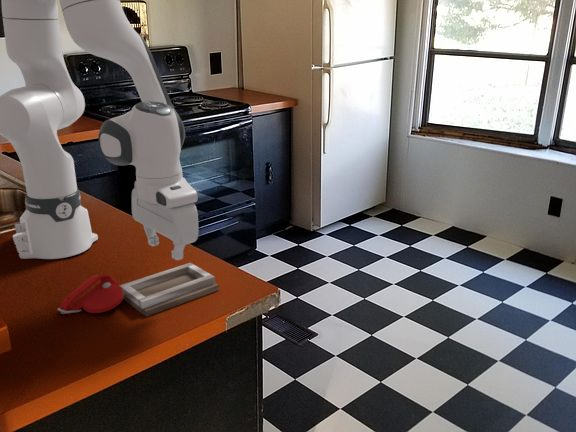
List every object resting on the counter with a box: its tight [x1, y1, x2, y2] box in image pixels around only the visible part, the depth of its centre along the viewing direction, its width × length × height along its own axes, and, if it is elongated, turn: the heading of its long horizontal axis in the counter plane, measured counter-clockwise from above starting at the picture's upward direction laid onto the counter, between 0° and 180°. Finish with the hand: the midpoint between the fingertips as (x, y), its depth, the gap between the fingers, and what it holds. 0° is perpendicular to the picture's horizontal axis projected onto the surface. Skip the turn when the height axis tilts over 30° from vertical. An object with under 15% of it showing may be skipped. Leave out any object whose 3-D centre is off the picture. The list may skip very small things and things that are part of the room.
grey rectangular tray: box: [118, 262, 220, 318], centre depth 125 cm, size 12×17×3 cm
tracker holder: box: [57, 273, 124, 316], centre depth 119 cm, size 12×4×10 cm
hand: (165, 251), depth 122 cm, fingers open, 8 cm apart
